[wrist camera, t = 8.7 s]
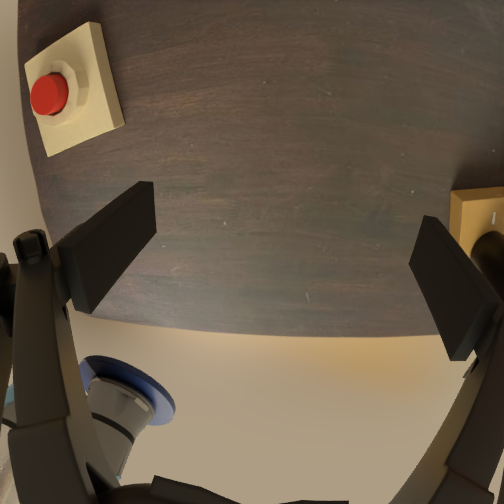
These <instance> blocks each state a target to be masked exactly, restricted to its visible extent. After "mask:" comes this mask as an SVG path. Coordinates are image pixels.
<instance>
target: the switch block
mask: <svg viewBox="0 0 504 504" xmlns="http://www.w3.org/2000/svg"><path fill="white" fill-rule="evenodd" d="M25 70H26V75H27V80H28V85H29V89H30V94H31V89H32V87H33V85H34V83H35V81H36V80H37V79H38V78H40V77H42V76H46V75H54V74H58V75H61V76H62V77H63V78H64V79H65V80H66V82H67V85H68V98H67V101H66V103H65V105H64V106H63V108H62V109H61V110H59V111H58V112H54V113H51V114H47V115H39V114H37V113H36V112H35V111H34V110H33V108H32V110H33V114H34V115H35V116H36V118H37V122H38V126H39V129H40V133H41V136H42V140H43V143H44V146H45V149H46V153H47V156H48V157H50V156H52V155H54V154H57V153H59V152H61V151H63V150H65V149H68V148H70V147H72V146H74V145H76V144H79V143H81V142H83V141H86V140H88V139H90V138H93V137H95V136H98V135H100V134H103V133H105V132H108V131H110V130H113V129H115V128H118V127H121V126H123V125H125V122H124V119H123V115H122V111H121V108H120V104H119V100H118V97H117V93H116V89H115V85H114V81H113V77H112V73H111V69H110V65H109V61H108V56H107V52H106V48H105V43H104V38H103V34H102V29H101V24H100V23H95V22H87V23H85V24H83V25H82V26H80V27H78V28H77V29H75V30H73V31H72V32H70V33H69V34H67V35H65V36H64V37H62V38H61V39H59V40H58V41H56V42H55V43H53V44H52V45H50V46H49V47H47V48H46V49H45V50H43V51H42V52H40V53H39V54H38V55H36V56H35V57H33V58H32V59H31V60H29V61H28V62H27V63H26V64H25ZM30 102H31V101H30ZM31 106H32V105H31Z"/></svg>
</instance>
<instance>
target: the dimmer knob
mask: <svg viewBox="0 0 504 504" xmlns="http://www.w3.org/2000/svg"><path fill="white" fill-rule="evenodd" d="M470 260H471V261H472V262H473V264H474V265H475V266H476V268H477V269H478V270H479V271H480V272H481V273H482V274H483V275H485V276H486V278H487V279H488V280H489V282H490V283H491V286H493V288H494V289H495V292H497V293H498V295H499V296H500V298H501V299H502V301H503V302H504V235H503V234H502V233H500V232H497V231H490V232H487V233H485V234H484V235H482V236H481V237H480V238H479V239H478V240H477V241H476V243H475V244H474V246H473V248H472V251H471V255H470Z"/></svg>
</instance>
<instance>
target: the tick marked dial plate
mask: <svg viewBox="0 0 504 504" xmlns="http://www.w3.org/2000/svg"><path fill="white" fill-rule="evenodd" d="M490 231H497V232H500V233H502V234H503V235H504V186H503V187H489V188H476V189H464V190H452V191H451V198H450V222H449V233H450V234H451V235H452V236H453V238H454V239H455V240H456V241H457V243H458V244H459V245H460V246H461V248H462V249H463V250H464V252H465V253H466V254H467V256H468V257H469V258H470V255H471V251H472V248H473V246H474V244H475V243H476V241H477V240H478V239H479V238H480V237H481V236H482V235H484V234H485V233H487V232H490Z"/></svg>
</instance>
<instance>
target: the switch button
mask: <svg viewBox="0 0 504 504" xmlns="http://www.w3.org/2000/svg"><path fill="white" fill-rule="evenodd" d="M67 98H68V85H67V82H66V80H65V79H64V78H63V77H62V76H61V75H58V74H54V75H46V76H42V77H40V78H38V79H37V80H36V81H35V83H34V85H33V87H32V89H31V94H30V101H31V105H32V108H33V110H34V111H35V112H36V113H37V114H39V115H47V114H51V113H54V112H58V111H59V110H61V109H62V108H63V106H64V105H65V103H66V101H67Z"/></svg>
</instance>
